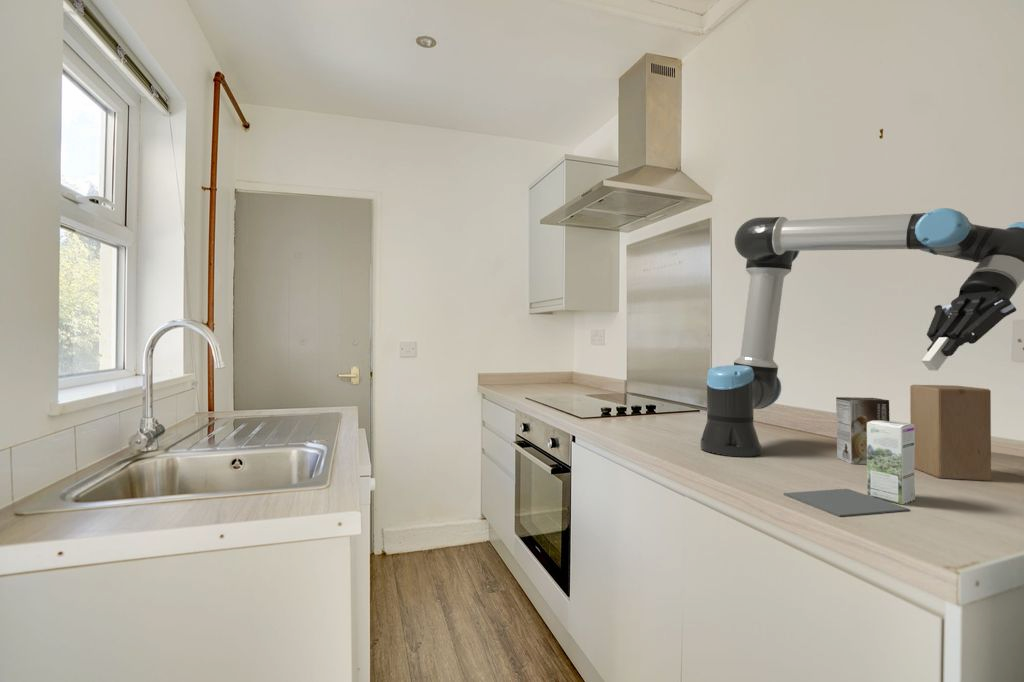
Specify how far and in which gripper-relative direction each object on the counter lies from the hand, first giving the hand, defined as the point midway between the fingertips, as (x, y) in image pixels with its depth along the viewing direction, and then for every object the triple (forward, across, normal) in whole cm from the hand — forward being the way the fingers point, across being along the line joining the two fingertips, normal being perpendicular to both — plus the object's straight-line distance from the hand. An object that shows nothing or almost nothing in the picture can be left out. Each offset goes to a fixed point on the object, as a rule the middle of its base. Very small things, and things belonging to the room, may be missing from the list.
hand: (929, 365), depth 90 cm
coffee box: (+9, +25, -27) cm, 38 cm away
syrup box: (+25, 0, -12) cm, 27 cm away
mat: (+32, 0, -4) cm, 32 cm away
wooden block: (+3, +12, -34) cm, 36 cm away
